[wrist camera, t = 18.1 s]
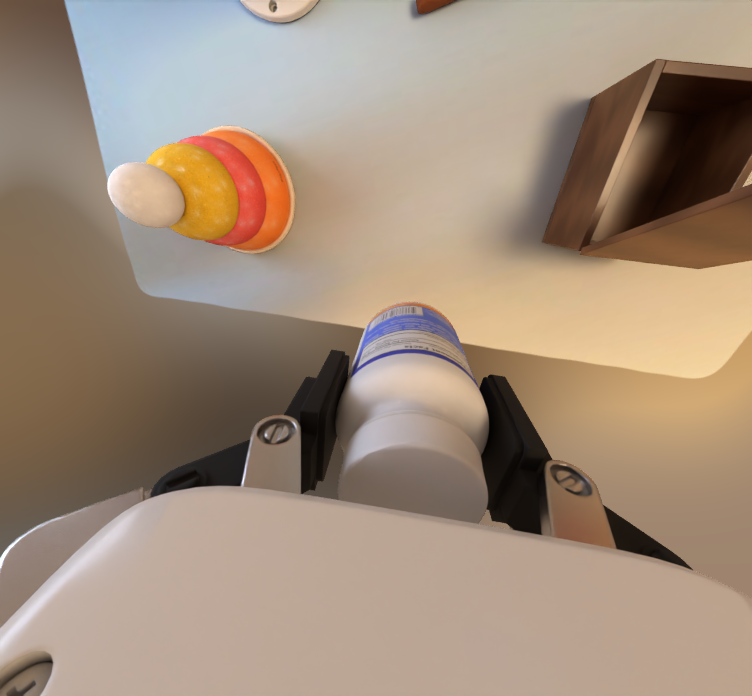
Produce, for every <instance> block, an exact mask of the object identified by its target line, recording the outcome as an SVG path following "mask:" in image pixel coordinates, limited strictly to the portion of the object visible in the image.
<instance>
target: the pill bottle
mask: <svg viewBox="0 0 752 696" xmlns="http://www.w3.org/2000/svg"><path fill="white" fill-rule="evenodd" d="M335 427H336V433H337V437H338V440H339V443H340V446H341V448H342V449H343V451H344V455H343V461H342V466H341V471H340V477H339V482H338V496H339V500H340V501H346V502H352V503H358V504H364V505H370V506H376V507H382V508H388V509H394V510H400V511H406V512H411V513H417V514H423V515H429V516H435V517H441V518H447V519H452V520H458V521H464V522H470V523H475V524H478V523H479V522H480V521H481V519H482V517H483V516H484V514H485V512H486V508H487V504H488V489H487V485H486V481H485V476H484V472H483V467H482V460H481V454H482V453H483V451H484V449H485V446H486V443H487V440H488V435H489V417H488V411H487V408H486V405H485V402H484V399H483V397H482V394H481V392H480V390H479V388H478V385H477V383H476V380H475V378H474V376H473V374H472V371H471V369H470V366H469V364H468V362H467V359H466V356H465V354H464V352H463V349H462V346H461V344H460V341H459V339H458V336H457V334H456V332H455V330H454V328H453V326H452V324H451V323H450V322H449V320H448V319H447V318H446V317H445V316H444V315H443V314H442V313H441V312H439V311H438V310H436V309H435V308H433V307H431V306H429V305H426V304H423V303H418V302H401V303H396V304H393V305H391V306H388V307H386V308H384V309H383V310H381V311H380V312H379V313H377V314H376V315H375V316H374V317H373V318H372V319H371V321H370V322H369V323H368V325H367V326H366V328H365V331H364V333H363V336H362V338H361V341H360V344H359V347H358V351H357V353H356V356H355V359H354V362H353V364H352V367H351V370H350V373H349V375H348V378H347V381H346V384H345V386H344V389H343V392H342V394H341V397H340V400H339V403H338V406H337V411H336V418H335Z"/></svg>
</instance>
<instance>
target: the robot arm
mask: <svg viewBox="0 0 752 696" xmlns="http://www.w3.org/2000/svg"><path fill="white" fill-rule="evenodd" d="M240 1H241V3H242V4H243V5H244V6H245V7H246V8H247V9H248V10H250V11H251V12H253V13H254V14H255V15H257V16H258V17H261V18H263V19H265V20H268V21H272V22H278V23H282V22H291V21H293V20H296V19H298V18H300V17H302V16H303V15H305V14H306V13H307V12H309V11H310V10H311V9H312V8H313V7H314V6H315V5H316V3H317V2H318V1H319V0H240ZM275 9H277V10H276V12H275ZM348 367H349V356H347V355H345V352H343V351H337V350H331V352H330V354H329V356H328V358H327V359H326V361H325V363H324V365H323V367H322V369H321V371H320V373H319V375H318V377H317V378H312V377H306V378H305V380H304V382H303V383H302V385H301V387H300V388H299V390H298V392H297V393H296V395H295V397H294V398H293V400H292V402H291V404H290V405H289V407H288V409H287V410H286V412H285V414H284V415H275V416H270V417H267V418H265V419H263V420H261V421H260V422H258V423H257V424H256V426H255V427H254V428H253V431H252V433H251V438H250V440H248V441H245V442H243V443H240V444H237V445H235V446H232V447H229V448H227V449H224V450H222V451H219V452H217V453H214V454H211V455H209V456H206V457H204V458H201V459H199V460H196V461H193V462H191V463H188V464H186V465H183V466H181V467H178V468H176V469H174V470H172V471H170V472H169V473H167V474H166V475H165V476H163V477H162V478H161V479H160V480H159V481H158V482H157V483H156V484H155V485H154V487H153V488H151V489H148V490H145V491H144V489H143V487H141V488H138V489H135V490H132V491H129V492H126V493H124V494H121V495H118V496H115V497H113V498H110V499H107V500H104V501H101V502H99V503H96V504H93V505H90V506H87V507H84V508H82V509H79V510H76V511H73V512H71V513H68V514H65V515H62V516H59V517H56V518H54V519H51V520H48V521H46V522H44V523H41V524H39V525H37V526H35V527H33V528H31V529H30V530H28V531H27V532H25V533H24V534H22V535H21V536H19V537H18V538H17V539H16V540H15V541H14V542H13V543H12V544H11V545H10V546H9V547H8V548H7V549H6V551H5V552H4V554H3V555H2V557H1V559H0V696H752V598H750V597H749V596H747V595H745V594H743V593H741V592H740V591H738V590H736V589H733V588H731V587H729V586H727V585H725V584H723V583H721V582H719V581H717V580H715V579H713V578H710V577H709V576H706V575H704V574H701V573H698V572H696V571H693V569H692V568H691V567H689V566H688V565H687V564H686V563H685V562H684V561H683V560H682V559H681V558H680V557H678V556H677V555H676V554H674V553H673V552H672V551H670V550H669V549H667V548H666V547H664V546H663V545H661V544H660V543H658V542H657V541H655V540H654V539H653V538H651V537H650V536H648V535H647V534H645V533H644V532H642V531H641V530H639V529H638V528H636V527H635V526H633V525H632V524H631V523H629V522H628V521H626V520H625V519H623V518H622V517H620V516H619V515H617V514H616V513H614V512H613V511H611V510H610V509H608V508H607V507H605V506H604V505H603V504H602V500H601V497H600V494H599V491H598V488H597V486H596V484H595V483H594V482H593V481H592V479H591V478H590V477H589V476H588V475H587V474H586V473H584V472H583V471H582V470H580V469H579V468H577V467H576V466H574V465H572V464H569V463H567V462H564V461H560V460H552V458H551V456H550V454H549V453H548V450H547V448H546V447H545V445H544V443H543V441H542V440H541V438H540V436H539V435H538V433H537V431H536V429H535V428H534V426H533V424H532V422H531V421H530V419H529V417H528V416H527V414H526V412H525V411H524V409H523V407H522V405H521V403H520V402H519V400H518V398H517V397H516V395H515V393H514V391H513V390H512V388H511V386H510V385H509V383H508V382H507V380H506V378H505V377H503V376H496V375H489V376H488V378H487V377H484V378H483V380H482V383H481V386H480V389H479V390H480V392H481V394H482V397H483V399H484V402H485V405H486V408H487V411H488V417H489V435H488V440H487V443H486V446H485V449H484V451H483V453H482V454H481V460H482V467H483V472H484V476H485V481H486V485H487V489H488V504H487V508H486V509H487V510H489V511H490V515H491V519H492V521H496V522H502V523H507V524H508V525H509V526H510V529H503V528H498V527H493V526H487V525H481V524H475V523H470V522H464V521H458V520H452V519H447V518H441V517H435V516H429V515H423V514H417V513H411V512H406V511H400V510H394V509H388V508H382V507H376V506H370V505H364V504H358V503H352V502H346V501H340V500H333V499H328V498H322V497H316V496H309V495H302V494H303V493H304V492H306V491H308V490H315V488H316V485H317V482H318V481H323V480H324V477H325V474H326V471H327V467H328V464H329V461H330V457H331V454H332V451H333V447H334V444H335V441H336V437H337V433H336V427H335V418H336V411H337V406H338V403H339V400H340V397H341V394H342V392H343V389H344V386H345V384H346V381H347V378H348Z"/></svg>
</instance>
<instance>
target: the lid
mask: <svg viewBox="0 0 752 696" xmlns="http://www.w3.org/2000/svg"><path fill="white" fill-rule="evenodd" d="M580 255H587V256H595V257H603V258H612V259H620V260H628V261H636V262H645V263H653V264H661V265H669V266H678V267H686V268H694V269H702V268H708V267H714V266H720V265H726V264H732V263H739V262H745V261H751V260H752V184H750V185H748V186H745V187H742V188H740V189H737V190H734V191H732V192H729V193H726V194H724V195H721V196H718V197H716V198H713V199H710V200H708V201H705V202H702V203H700V204H697V205H694V206H692V207H689V208H686V209H684V210H681V211H679V212H676V213H673V214H671V215H668V216H665V217H663V218H660V219H657V220H655V221H652V222H649V223H647V224H644V225H641V226H639V227H636V228H633V229H631V230H628V231H625V232H623V233H620V234H617V235H615V236H612V237H609V238H607V239H604V240H602V241H599V242H596V243H594V244H591V245H588V246H586V247H583V248H581V253H580Z"/></svg>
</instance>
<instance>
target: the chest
mask: <svg viewBox="0 0 752 696" xmlns="http://www.w3.org/2000/svg"><path fill="white" fill-rule="evenodd" d="M751 171H752V68H745V67H734V66H724V65H713V64H702V63H691V62H681V61H670V60H667V61H666V60H662V59H656V60H654V61H652V62H651V63H649V64H647V65H646V66H644V67H642V68H641V69H639V70H637V71H636V72H634V73H632V74H631V75H629V76H628V77H626V78H624V79H623V80H621V81H619V82H618V83H616V84H614V85H613V86H611V87H609V88H608V89H606V90H604V91H603V92H601V93H599V94H598V95H596V96H594V97H593V98H592V99H591V102H590V105H589V108H588V111H587V114H586V117H585V120H584V122H583V125H582V128H581V131H580V134H579V137H578V140H577V143H576V145H575V148H574V151H573V154H572V157H571V160H570V163H569V166H568V168H567V171H566V174H565V177H564V180H563V183H562V186H561V189H560V191H559V194H558V197H557V200H556V203H555V206H554V209H553V212H552V214H551V217H550V220H549V223H548V226H547V229H546V232H545V235H544V237H543V240H542V242H544V243H549V244H553V245H557V246H561V247H565V248H569V249H573V250H577V251H581V248H583V247H586V246H588V245H591V244H594V243H596V242H599V241H602V240H604V239H607V238H609V237H612V236H615V235H617V234H620V233H623V232H625V231H628V230H631V229H633V228H636V227H639V226H641V225H644V224H647V223H649V222H652V221H655V220H657V219H660V218H663V217H665V216H668V215H671V214H673V213H676V212H679V211H681V210H684V209H686V208H689V207H692V206H694V205H697V204H700V203H702V202H705V201H708V200H710V199H713V198H716V197H718V196H721V195H724V194H726V193H729V192H732V191H734V190H737V189H740V188H742V186H743V185H744V183H745V181H746V180H747V178H748V176H749V175H750V173H751Z"/></svg>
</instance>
